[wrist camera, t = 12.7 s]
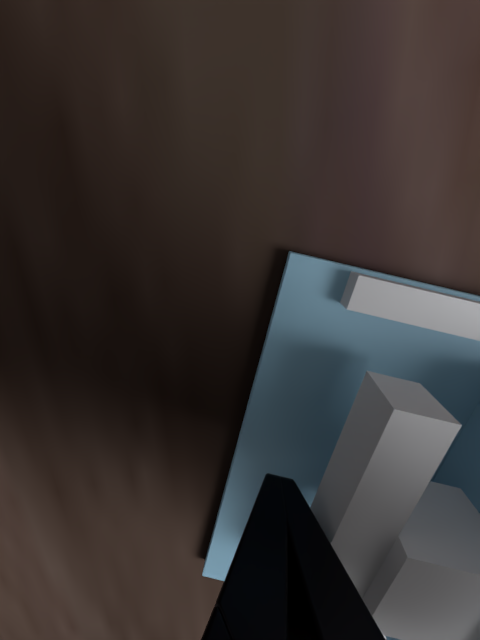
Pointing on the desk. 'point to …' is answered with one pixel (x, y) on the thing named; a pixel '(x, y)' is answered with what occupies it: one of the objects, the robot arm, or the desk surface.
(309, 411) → the vise base
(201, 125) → the desk surface
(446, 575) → the sliding jaw
